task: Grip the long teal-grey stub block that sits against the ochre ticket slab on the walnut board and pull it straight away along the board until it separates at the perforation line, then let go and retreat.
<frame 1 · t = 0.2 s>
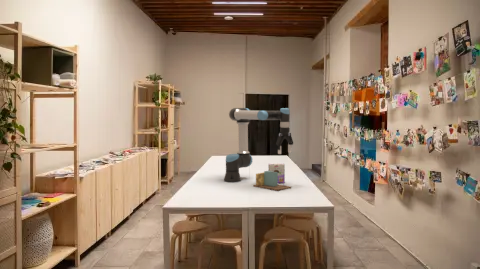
hand: (284, 153, 292), 27 cm above the table, fingers open, 13 cm apart
stub: (270, 178, 291), point 7 cm above the table, slide at 0.0 cm
candy box: (276, 182, 310), on the table
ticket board: (271, 187, 290), on the table
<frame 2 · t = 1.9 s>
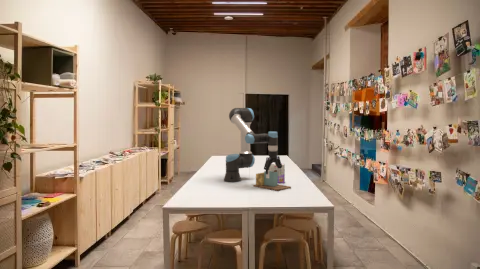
hand: (273, 177, 289), 8 cm above the table, fingers open, 13 cm apart
nothing on the table moved.
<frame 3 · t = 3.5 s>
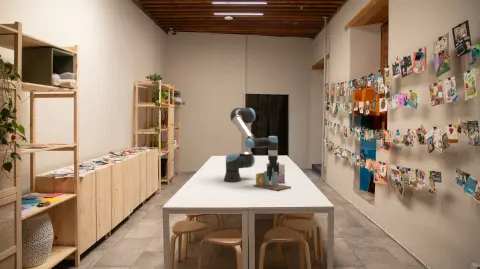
hand: (272, 184, 289), 3 cm above the table, fingers closed on stub, 5 cm apart
stub: (270, 178, 291), point 7 cm above the table, slide at 0.0 cm, touching gripper
everything else where it was.
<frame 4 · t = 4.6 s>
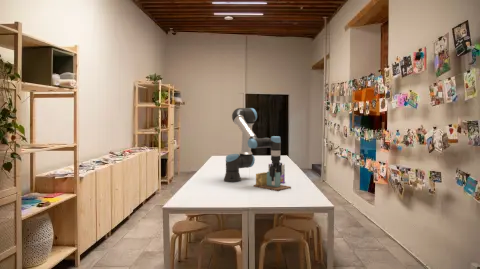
hand: (275, 184, 287), 3 cm above the table, fingers closed on stub, 5 cm apart
stub: (273, 178, 289), point 7 cm above the table, slide at 2.8 cm, touching gripper
everything else where it was.
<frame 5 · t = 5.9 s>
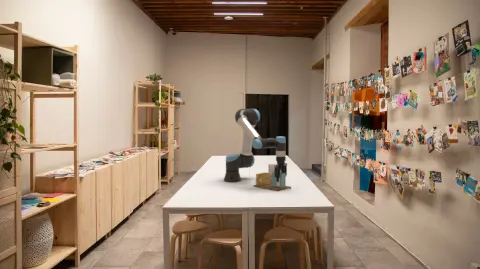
hand: (280, 185, 284), 3 cm above the table, fingers closed on stub, 5 cm apart
stub: (278, 179, 285), point 7 cm above the table, slide at 7.9 cm, touching gripper
everything else where it was.
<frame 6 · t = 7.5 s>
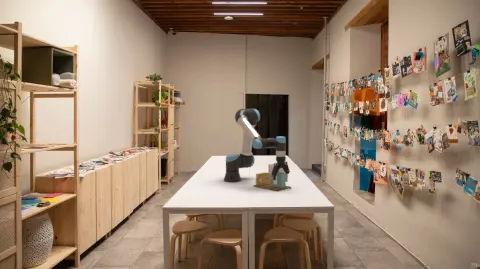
hand: (280, 182, 283), 5 cm above the table, fingers open, 13 cm apart
stub: (278, 179, 285), point 7 cm above the table, slide at 8.0 cm
everything else where it was.
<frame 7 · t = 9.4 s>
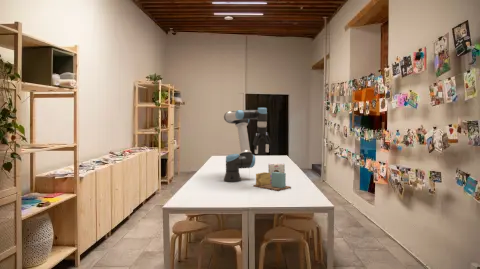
hand: (261, 153, 292), 27 cm above the table, fingers open, 13 cm apart
nothing on the table moved.
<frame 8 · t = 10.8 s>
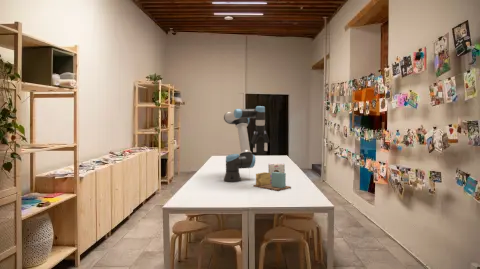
hand: (260, 151, 292), 29 cm above the table, fingers open, 13 cm apart
nothing on the table moved.
at the end: stub slide at 8.0 cm; the gripper is holding nothing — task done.
